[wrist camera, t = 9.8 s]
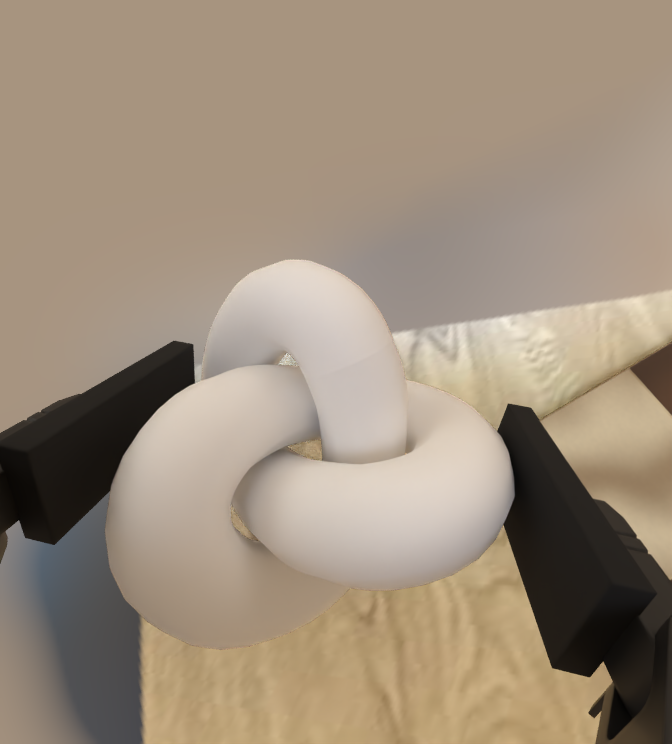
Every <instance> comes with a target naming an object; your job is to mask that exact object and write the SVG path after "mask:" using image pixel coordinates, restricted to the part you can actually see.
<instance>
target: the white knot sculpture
mask: <svg viewBox="0 0 672 744" xmlns="http://www.w3.org/2000/svg"><path fill="white" fill-rule="evenodd" d="M286 353H289V354H290V355H291V356H292V357H293V358H294V359H295V361H296V362H297V364H298V365H299V366H291V365H278V364H279V362H280V360H281V359H282V358H283V356H284V355H285V354H286ZM318 439H321V444H322V461H319V460H312V459H308V458H306V457H304V456H301V455H299V454H297V453H296V452H294V451H292V450H291V449H289V448H288V446H289V445H293V444H297V443H301V442H306V441H312V440H318ZM405 453H407V454H405ZM514 497H515V489H514V474H513V469H512V465H511V460H510V456H509V452H508V450H507V448H506V445H505V443H504V441H503V439H502V437H501V436H500V434H499V433H498V432H497V431H496V430H495V429H494V428H493V427H492V426H491V425H490V423H489V422H488V421H487V420H485V419H484V418H483V417H482V416H481V415H480V414H479V413H478V412H477V411H476V410H475V409H474V408H473V407H471V406H470V405H468V404H467V403H466V402H464V401H463V400H461V399H459V398H457V397H455V396H453V395H451V394H449V393H447V392H445V391H442V390H440V389H437V388H434V387H432V386H428V385H425V384H422V383H418V382H414V381H410V380H406V378H405V373H404V369H403V365H402V362H401V358H400V355H399V353H398V351H397V348H396V346H395V343H394V340H393V337H392V334H391V332H390V330H389V327H388V325H387V323H386V321H385V319H384V317H383V316H382V314H381V313H380V311H379V309H378V308H377V306H376V304H375V303H374V302H373V301H372V300H371V298H370V297H369V296H368V295H367V294H366V293H365V292H364V291H363V290H362V288H361V287H359V286H358V285H357V284H355V283H354V282H353V281H351V280H350V279H349V278H347V277H346V276H344V275H343V274H341V273H339V272H337V271H334V270H333V269H330V268H328V267H325V266H322V265H320V264H317V263H315V262H312V261H309V260H290V259H289V260H284V261H281V262H278V263H275V264H272V265H269V266H267V267H264V268H261V269H258V270H255V271H252V272H251V273H250V274H248V275H247V276H246V277H244V278H243V279H242V280H241V281H239V282H238V283H237V284H236V285H235V287H234V288H233V290H232V291H231V292H230V294H229V295H228V296H227V298H226V299H225V301H224V303H223V304H222V306H221V308H220V309H219V311H218V313H217V315H216V317H215V319H214V322H213V324H212V326H211V328H210V331H209V335H208V338H207V342H206V346H205V350H204V357H203V364H202V378H201V381H199V382H197V383H195V384H192V385H190V386H188V387H187V388H185V389H184V390H182V391H180V392H179V393H177V394H175V395H174V396H173V397H172V398H171V399H169V400H168V401H167V402H166V403H165V404H164V405H162V406H161V407H160V408H159V409H158V410H157V411H156V412H155V413H154V415H153V416H152V417H151V418H150V419H149V420H148V421H147V423H146V424H145V425H144V426H143V427H142V428H141V430H140V431H139V433H138V434H137V436H136V437H135V439H134V440H133V442H132V443H131V445H130V446H129V448H128V449H127V451H126V452H125V454H124V455H123V457H122V459H121V462H120V464H119V467H118V469H117V472H116V474H115V477H114V479H113V482H112V484H111V490H110V497H109V503H108V511H107V517H106V526H105V538H106V545H107V552H108V559H109V566H110V570H111V572H112V574H113V576H114V578H115V580H116V583H117V585H118V586H119V588H120V590H121V593H122V595H123V597H124V599H125V600H126V601H127V602H128V603H129V604H130V605H131V606H132V607H133V608H134V609H135V610H136V611H137V612H138V613H139V614H140V615H141V616H142V617H143V618H144V619H145V620H146V621H147V622H149V623H150V624H152V625H154V626H155V627H157V628H158V629H160V630H162V631H163V632H165V633H167V634H169V635H171V636H173V637H175V638H177V639H179V640H181V641H183V642H186V643H188V644H190V645H192V646H198V647H205V648H212V649H219V650H223V649H233V648H242V647H250V646H253V645H256V644H259V643H262V642H265V641H268V640H272V639H275V638H277V637H280V636H283V635H286V634H288V633H291V632H293V631H295V630H297V629H298V628H300V627H302V626H304V625H306V624H308V623H310V622H311V621H313V620H314V619H316V618H317V617H318V616H320V615H321V614H323V613H324V612H325V611H327V610H328V609H329V608H330V607H331V606H333V605H334V604H335V603H336V602H337V601H338V600H339V599H340V598H341V597H342V596H343V595H344V594H345V593H346V592H347V591H348V590H349V589H350V588H353V589H361V590H369V591H382V590H399V589H405V588H411V587H417V586H422V585H426V584H429V583H431V582H434V581H437V580H440V579H442V578H445V577H448V576H451V575H453V574H455V573H457V572H458V571H460V570H461V569H463V568H464V567H466V566H468V565H469V564H471V563H472V562H474V561H476V560H477V559H479V557H480V556H481V555H482V554H483V553H484V552H485V551H486V550H487V549H488V547H489V546H490V545H491V544H492V543H493V542H494V541H495V540H496V538H497V536H498V534H499V532H500V530H501V528H502V526H503V524H504V522H505V520H506V517H507V515H508V512H509V510H510V507H511V505H512V502H513V500H514ZM231 504H232V506H233V508H234V510H235V511H236V513H237V514H238V516H239V518H240V519H241V520H242V522H243V523H244V524H245V526H246V527H247V528H248V529H249V530H250V532H251V533H252V534H253V535H254V536H256V537H257V538H258V539H259V540H260V541H255V540H250V539H248V538H246V537H245V536H243V535H242V534H241V533H240V532H239V531H238V530H237V529H236V528H235V527H234V526H233V524H232V521H231Z"/></svg>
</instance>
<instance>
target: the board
mask: <svg viewBox="0 0 672 744" xmlns="http://www.w3.org/2000/svg"><path fill="white" fill-rule="evenodd" d="M540 422H541V423H542V425H543V426H544V428H545V429H546V431H547V432H548V434H549V435H550V436H551V438H552V439H553V441H554V442H555V444H556V445H557V447H558V448H559V450H560V451H561V453H562V454H563V456H564V457H565V459H566V460H567V461H568V463H569V464H570V466H571V467H572V469H573V470H574V472H575V473H576V475H577V476H578V478H579V479H580V481H581V482H582V483H583V485H584V486H585V488H586V489H587V491H588V492H589V494H590V495H591V497H592V498H593V499H598V500H603V501H605V502H606V503H608V504H609V505H610V506H611V507H612V508H613V509H614V510H616V511H617V512H618V513H619V514H620V515H621V516H623V517H624V519H625V520H626V521H627V523H628V524H629V525H630V527H631V528H632V529H633V531H634V532H635V533H636V535H637V539H640V540H641V541H642V543H643V544H644V546H645V547H646V548H647V550H648V554H651V555H652V556H653V558H654V559H655V560H656V562H657V563H658V564H659V566H660V567H661V568H662V570H663V571H664V573H665V574H666V575H667V577H668V578H669V579H670V581H671V582H672V341H671V342H670V343H668V344H666V345H665V346H663V347H661V348H660V349H658V350H656V351H655V352H653V353H651V354H650V355H648V356H646V357H645V358H643V359H641V360H639V361H638V362H636V363H634V364H633V365H631V366H629V367H628V368H626V369H624V370H623V371H621V372H619V373H618V374H616V375H614V376H612V377H611V378H609V379H607V380H606V381H604V382H602V383H601V384H599V385H597V386H596V387H594V388H592V389H591V390H589V391H587V392H586V393H584V394H582V395H580V396H579V397H577V398H575V399H574V400H572V401H570V402H569V403H567V404H565V405H564V406H562V407H560V408H559V409H557V410H555V411H554V412H552V413H550V414H548V415H547V416H545V417H543V418H542V419H540Z"/></svg>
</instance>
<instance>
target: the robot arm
mask: <svg viewBox="0 0 672 744" xmlns="http://www.w3.org/2000/svg"><path fill="white" fill-rule="evenodd" d="M193 352H194V351H193V344H189V343H184V342H178V341H173V342H171V343H169V344H167V345H166V346H164V347H162V348H160V349H159V350H157V351H155V352H153V353H152V354H150V355H148V356H147V357H145V358H143V359H141V360H140V361H138V362H136V363H134V364H133V365H131V366H129V367H127V368H126V369H124V370H122V371H121V372H119V373H117V374H115V375H114V376H112V377H110V378H108V379H107V380H105V381H103V382H101V383H100V384H98V385H96V386H95V387H93V388H91V389H89V390H88V391H86V392H84V393H82V394H78V395H74V396H71V397H68V398H65V399H63V400H59V401H57V402H55V403H53V404H52V405H50V406H48V407H46V408H45V409H43V410H42V411H41V412H38V413H36V414H34V415H32V416H30V417H29V418H27V420H26V421H25V420H23V421H21V422H19V423H18V424H16V425H14V426H12V427H11V428H9V429H7V430H5V431H3V432H1V433H0V563H1V560H2V558H3V555H4V552H5V549H6V547H7V535H6V532H5V531H6V530H7V529H8V528H10V527H11V526H12V525H13V524H15V523H16V522H17V521H18V520H19V521H20V524H21V527H22V530H23V533H24V536H25V538H28V539H32V540H36V541H40V542H44V543H49V544H52V545H55V544H56V543H57V542H58V541H59V540H60V539H61V538H62V537H63V536H64V535H65V534H66V533H67V532H68V531H69V530H70V529H71V528H72V527H73V526H74V525H75V524H76V523H77V522H78V521H79V520H81V519H82V518H83V516H85V515H86V514H87V513H88V512H89V510H91V509H92V508H93V507H94V506H95V505H96V504H97V503H98V502H99V501H100V500H101V499H102V498H103V497H104V496H105V495H106V494H107V493H108V492H109V491H110V490H111V484H112V482H113V479H114V477H115V474H116V472H117V469H118V467H119V464H120V462H121V459H122V457H123V455H124V454H125V452H126V451H127V449H128V448H129V446H130V445H131V443H132V442H133V440H134V439H135V437H136V436H137V434H138V433H139V431H140V430H141V428H142V427H143V426H144V425H145V424H146V423H147V421H148V420H149V419H150V418H151V417H152V416H153V415H154V413H155V412H156V411H157V410H158V409H159V408H160V407H161V406H162V405H164V404H165V403H166V402H167V401H168V400H169V399H171V398H172V397H173V396H174V395H175V394H177V393H179V392H180V391H182V390H184V389H185V388H187V387H188V386H190V385H192V384H195V376H194V353H193ZM497 432H498V433H499V434H500V436H501V437H502V439H503V441H504V443H505V445H506V448H507V450H508V452H509V456H510V460H511V465H512V469H513V474H514V489H515V497H514V500H513V502H512V505H511V507H510V510H509V512H508V515H507V517H506V520H505V522H504V524H503V525H504V528H505V530H506V533H507V536H508V539H509V542H510V545H511V548H512V551H513V554H514V557H515V560H516V563H517V566H518V569H519V572H520V575H521V578H522V581H523V584H524V587H525V590H526V592H527V595H528V598H529V601H530V604H531V607H532V610H533V613H534V616H535V619H536V622H537V625H538V628H539V631H540V634H541V637H542V640H543V643H544V646H545V649H546V652H547V654H548V657H549V660H550V663H551V666H552V668H554V669H558V670H562V671H566V672H570V673H574V674H578V675H582V676H586V677H591V676H592V674H593V673H594V672H595V671H596V669H597V668H598V667H599V666H600V664H601V663H602V662H603V661H604V663H605V665H606V668H607V670H608V672H609V674H610V676H611V679H612V681H613V682H612V684H611V685H610V686H609V687H608V688H607V689H606V691H605V692H604V693H603V694H602V695H601V696H600V697H599V699H598V700H597V701H596V702H595V703H594V704H593V706H592V707H591V709H590V711H589V712H588V713H589V714H590V715H591V716H592V717H593V718H595V717H596V716H597V715H598V714H599V712H600V711H601V717H600V722H599V727H598V733H597V738H596V743H595V744H672V582H671V581H670V579H669V578H668V577H667V575H666V574H665V573H664V571H663V570H662V568H661V567H660V566H659V564H658V563H657V562H656V560H655V559H654V558H653V556H652V555H651V554H648V550H647V548H646V547H645V546H644V544H643V543H642V541H641V540H640V539H637V535H636V533H635V532H634V531H633V529H632V528H631V527H630V525H629V524H628V523H627V521H626V520H625V519H624V517H623V516H621V515H620V514H619V513H618V512H617V511H616V510H614V509H613V508H612V507H611V506H610V505H609V504H608V503H606V502H605V501H603V500H598V499H593V498H592V497H591V495H590V494H589V492H588V491H587V489H586V488H585V486H584V485H583V483H582V482H581V481H580V479H579V478H578V476H577V475H576V473H575V472H574V470H573V469H572V467H571V466H570V464H569V463H568V461H567V460H566V459H565V457H564V456H563V454H562V453H561V451H560V450H559V448H558V447H557V445H556V444H555V442H554V441H553V439H552V438H551V436H550V435H549V434H548V432H547V431H546V429H545V428H544V426H543V425H542V423H541V422H540V420H539V419H538V417H537V416H536V414H535V413H534V412H533V410H532V409H531V408H529V407H524V406H519V405H513V404H508V405H507V408H506V411H505V413H504V416H503V418H502V421H501V423H500V426H499V428H498V431H497Z"/></svg>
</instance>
